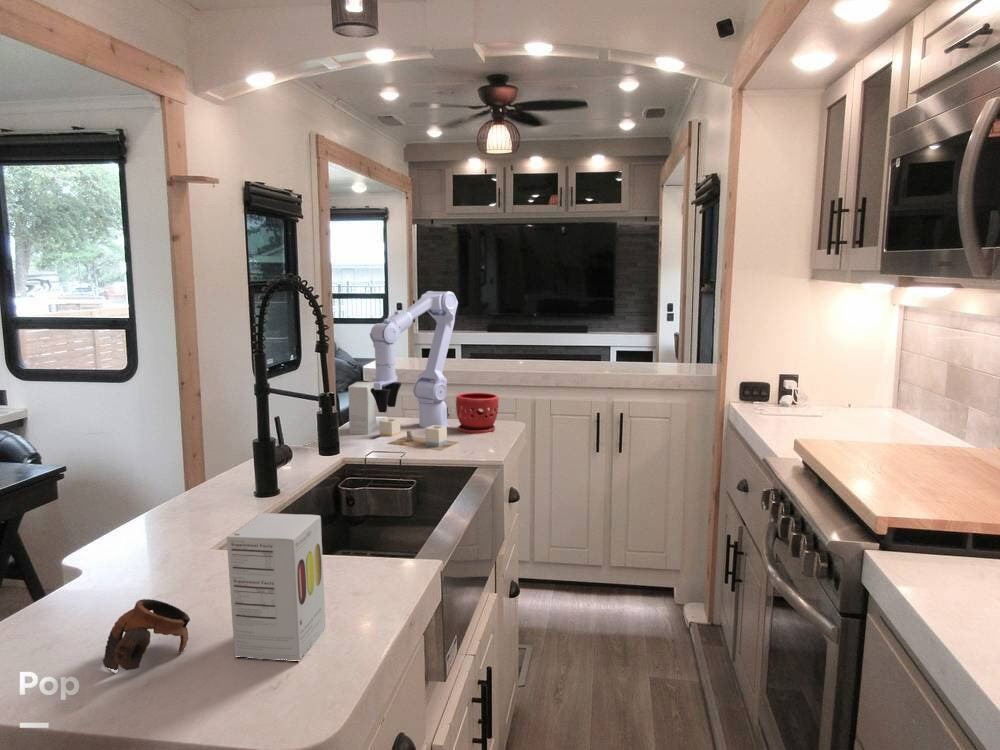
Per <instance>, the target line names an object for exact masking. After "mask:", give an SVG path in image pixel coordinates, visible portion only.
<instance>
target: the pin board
mask: <svg viewBox="0 0 1000 750" xmlns="http://www.w3.org/2000/svg"><path fill="white" fill-rule="evenodd" d="M413 435H414V434H413V430H406V436H403V437H400V438H397V439H395V440H392V441H390V442H388V443H386V444H387V445H395V446H403V447H411V448H417V449H427V450H432V451H443V450H445V449H447V448H450V447H451V446H454V445H457V444H458V443H459V441H452V440H447V444H445V445H443V446H441V447H434V446H426V437H419V436H413Z"/></svg>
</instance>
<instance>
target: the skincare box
mask: <svg viewBox="0 0 1000 750" xmlns="http://www.w3.org/2000/svg"><path fill="white" fill-rule="evenodd" d="M374 383H375V381H356V382H353V383H352V384H350V385H349V386H348V387H347V388H348V416H349V417H348V420H349V421H348V422H349V425H348V426H349V435H370V434H371V433H373V432H374V431H375V430H377V411H376V410H377V404H376V401H375V398H374V396H373V395H372V393H371V389H372V388H374Z"/></svg>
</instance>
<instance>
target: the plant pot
mask: <svg viewBox="0 0 1000 750" xmlns="http://www.w3.org/2000/svg"><path fill="white" fill-rule="evenodd" d="M455 404H456V409H455V410H456V415H457V419H458V422H459V424H460V425H458V427H457V429H458V431H460V433H465V434H487V433H494V432H495V430H496V426H495V425H494V424H495V422H496V421H497V420H496V419H497V417H498V411H499V395H496V394H494V393H487V392H466V393H458V394H457V395H456V399H455ZM480 410H482V411H480Z"/></svg>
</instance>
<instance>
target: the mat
mask: <svg viewBox="0 0 1000 750" xmlns="http://www.w3.org/2000/svg"><path fill="white" fill-rule="evenodd" d="M378 438H381V437H380V434H379V435H376V436H374V437H371V438H369V440H375V439H378Z"/></svg>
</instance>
